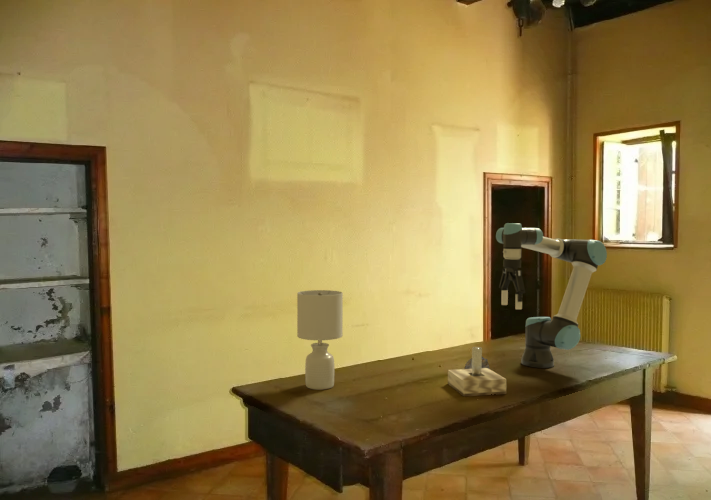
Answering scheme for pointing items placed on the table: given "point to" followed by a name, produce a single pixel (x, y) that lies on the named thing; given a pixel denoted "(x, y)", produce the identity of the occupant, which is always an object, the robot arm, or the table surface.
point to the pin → (476, 361)
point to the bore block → (476, 382)
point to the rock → (484, 364)
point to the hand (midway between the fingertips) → (511, 307)
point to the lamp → (319, 333)
